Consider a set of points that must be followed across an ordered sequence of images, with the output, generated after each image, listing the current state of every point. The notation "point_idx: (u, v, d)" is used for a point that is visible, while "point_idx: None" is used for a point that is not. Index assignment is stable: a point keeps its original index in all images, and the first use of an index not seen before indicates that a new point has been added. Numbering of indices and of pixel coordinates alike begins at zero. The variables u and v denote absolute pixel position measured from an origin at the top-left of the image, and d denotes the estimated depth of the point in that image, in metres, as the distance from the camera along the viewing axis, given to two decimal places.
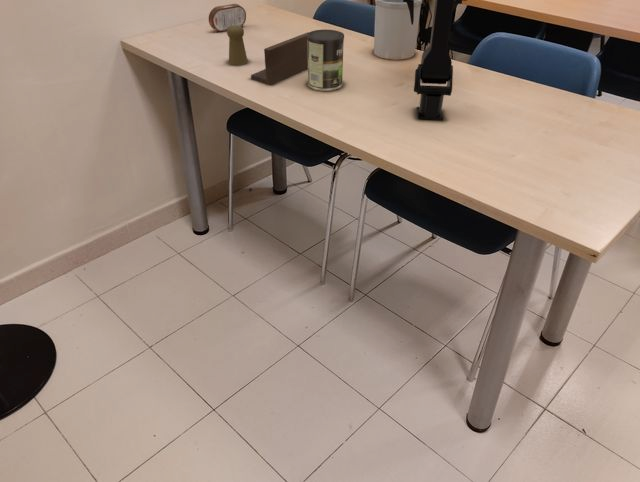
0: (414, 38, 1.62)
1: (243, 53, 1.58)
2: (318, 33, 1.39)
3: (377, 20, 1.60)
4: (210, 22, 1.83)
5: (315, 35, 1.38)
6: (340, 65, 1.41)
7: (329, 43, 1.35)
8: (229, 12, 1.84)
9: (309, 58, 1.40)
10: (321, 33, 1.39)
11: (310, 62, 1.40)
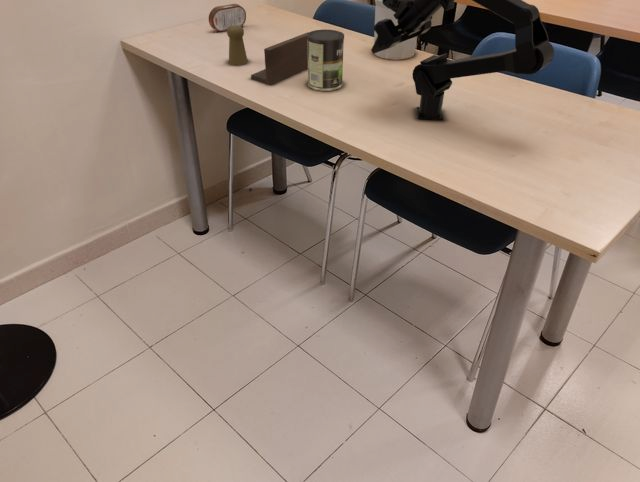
0: (414, 38, 1.62)
1: (243, 53, 1.58)
2: (318, 33, 1.39)
3: (377, 20, 1.60)
4: (210, 22, 1.83)
5: (315, 35, 1.38)
6: (340, 65, 1.41)
7: (329, 43, 1.35)
8: (229, 12, 1.84)
9: (309, 58, 1.40)
10: (321, 33, 1.39)
11: (310, 62, 1.40)
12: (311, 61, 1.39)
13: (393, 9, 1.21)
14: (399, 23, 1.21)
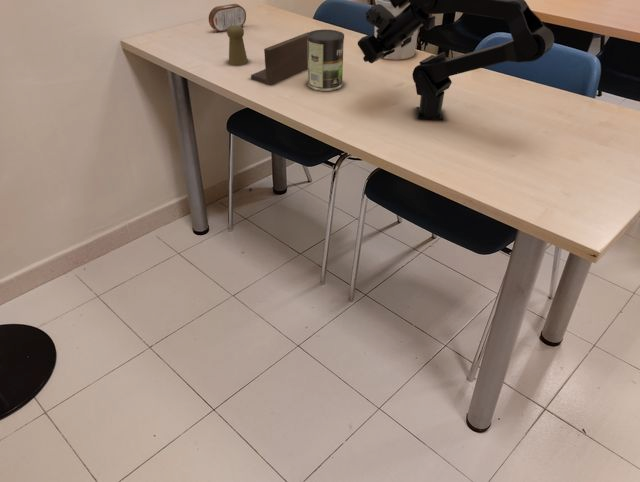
0: (414, 38, 1.62)
1: (243, 53, 1.58)
2: (318, 33, 1.39)
3: None
4: (210, 22, 1.83)
5: (315, 35, 1.38)
6: (340, 65, 1.41)
7: (329, 43, 1.35)
8: (229, 12, 1.84)
9: (309, 58, 1.40)
10: (321, 33, 1.39)
11: (310, 62, 1.40)
12: (311, 61, 1.39)
13: (376, 25, 1.25)
14: (382, 39, 1.25)
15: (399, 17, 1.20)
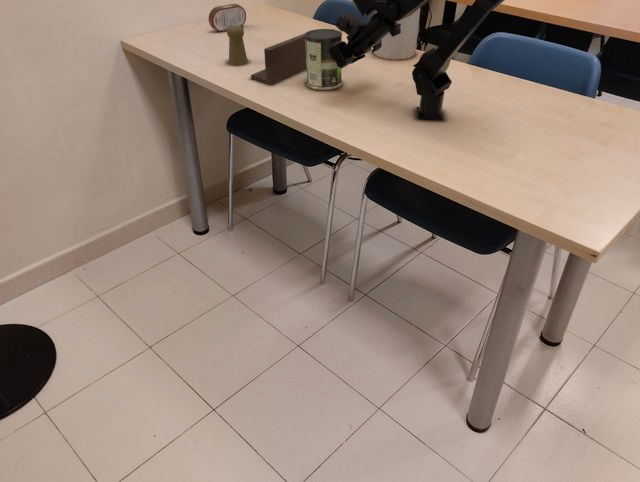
0: (414, 38, 1.62)
1: (243, 53, 1.58)
2: (316, 32, 1.39)
3: None
4: (210, 22, 1.83)
5: (313, 34, 1.38)
6: None
7: (327, 42, 1.35)
8: (229, 12, 1.84)
9: (307, 57, 1.40)
10: (319, 32, 1.40)
11: (308, 61, 1.40)
12: (309, 60, 1.40)
13: (346, 32, 1.31)
14: (351, 45, 1.31)
15: (367, 24, 1.26)
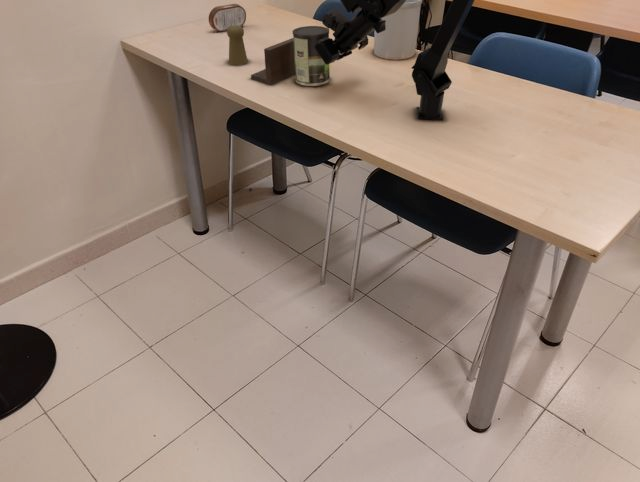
0: (414, 38, 1.62)
1: (243, 53, 1.58)
2: (304, 29, 1.42)
3: None
4: (210, 22, 1.83)
5: (301, 31, 1.40)
6: None
7: (313, 38, 1.37)
8: (229, 12, 1.84)
9: (295, 54, 1.42)
10: (307, 29, 1.42)
11: (296, 58, 1.42)
12: (297, 57, 1.42)
13: (332, 28, 1.33)
14: (338, 41, 1.33)
15: (352, 21, 1.28)
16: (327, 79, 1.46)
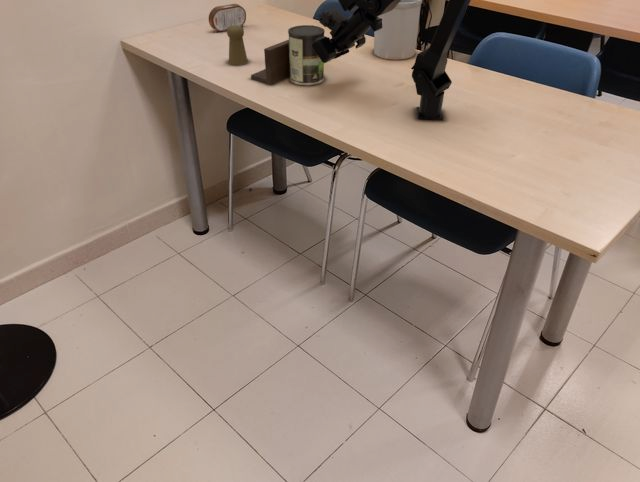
0: (414, 38, 1.62)
1: (243, 53, 1.58)
2: (299, 29, 1.42)
3: None
4: (210, 22, 1.83)
5: (296, 30, 1.41)
6: (320, 60, 1.44)
7: (308, 39, 1.38)
8: (229, 12, 1.84)
9: (290, 53, 1.43)
10: (302, 29, 1.42)
11: (291, 57, 1.43)
12: (292, 56, 1.43)
13: (329, 27, 1.33)
14: (335, 40, 1.34)
15: (349, 20, 1.29)
16: (321, 79, 1.47)
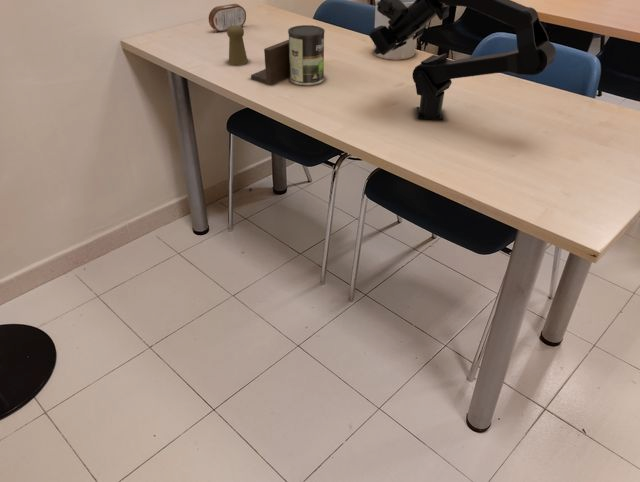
0: None
1: (243, 53, 1.58)
2: (299, 29, 1.42)
3: (377, 20, 1.60)
4: (210, 22, 1.83)
5: (296, 30, 1.41)
6: (320, 60, 1.44)
7: (308, 39, 1.38)
8: (229, 12, 1.84)
9: (290, 53, 1.43)
10: (302, 29, 1.42)
11: (291, 57, 1.43)
12: (292, 56, 1.43)
13: (388, 16, 1.22)
14: (393, 30, 1.22)
15: (412, 7, 1.17)
16: (321, 79, 1.47)
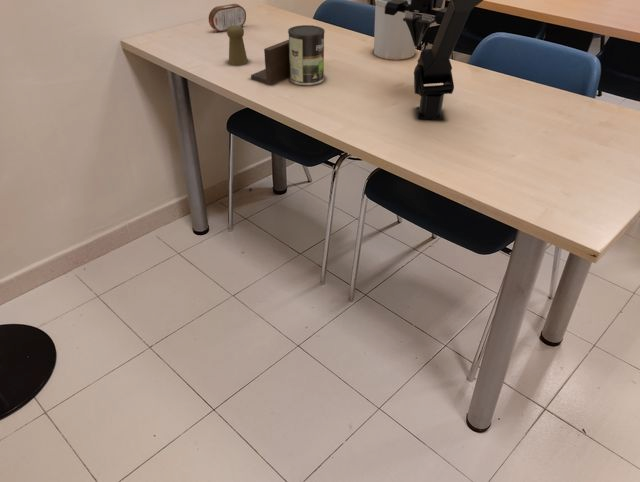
0: None
1: (243, 53, 1.58)
2: (299, 29, 1.42)
3: (377, 20, 1.60)
4: (210, 22, 1.83)
5: (296, 30, 1.41)
6: (320, 60, 1.44)
7: (308, 39, 1.38)
8: (229, 12, 1.84)
9: (290, 53, 1.43)
10: (302, 29, 1.42)
11: (291, 57, 1.43)
12: (292, 56, 1.43)
13: None
14: None
15: None
16: (321, 79, 1.47)
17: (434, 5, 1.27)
